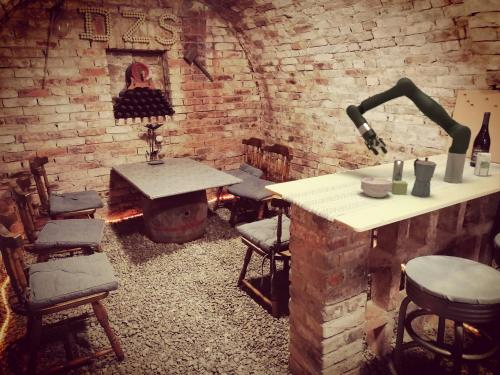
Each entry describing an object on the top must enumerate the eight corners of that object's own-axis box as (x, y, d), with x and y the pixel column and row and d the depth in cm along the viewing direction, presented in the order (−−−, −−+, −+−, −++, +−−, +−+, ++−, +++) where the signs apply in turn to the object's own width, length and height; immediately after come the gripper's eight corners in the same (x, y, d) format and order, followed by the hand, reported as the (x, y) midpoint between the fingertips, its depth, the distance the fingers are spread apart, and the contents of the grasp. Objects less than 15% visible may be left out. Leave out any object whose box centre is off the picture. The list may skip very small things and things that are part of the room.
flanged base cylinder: (389, 183, 205) (392, 159, 202) (400, 183, 205) (403, 160, 201) (391, 186, 200) (394, 161, 196) (403, 186, 199) (406, 162, 195)
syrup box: (482, 174, 229) (486, 152, 225) (487, 176, 223) (492, 154, 220) (473, 174, 230) (477, 152, 226) (478, 176, 224) (482, 153, 220)
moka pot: (422, 199, 175) (428, 160, 170) (401, 191, 189) (406, 154, 184) (438, 198, 178) (444, 159, 172) (416, 190, 192) (421, 153, 186)
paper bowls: (366, 189, 193) (368, 175, 191) (395, 194, 184) (396, 179, 182) (355, 195, 182) (356, 180, 179) (384, 201, 172) (386, 185, 170)
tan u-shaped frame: (382, 185, 200) (383, 175, 198) (401, 186, 199) (402, 176, 197) (389, 194, 184) (390, 182, 183) (409, 195, 183) (410, 183, 181)
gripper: (363, 129, 206) (379, 151, 200) (378, 127, 214) (393, 149, 208) (355, 137, 211) (370, 159, 205) (370, 135, 219) (384, 156, 213)
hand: (381, 154), depth 207 cm, fingers open, 8 cm apart
